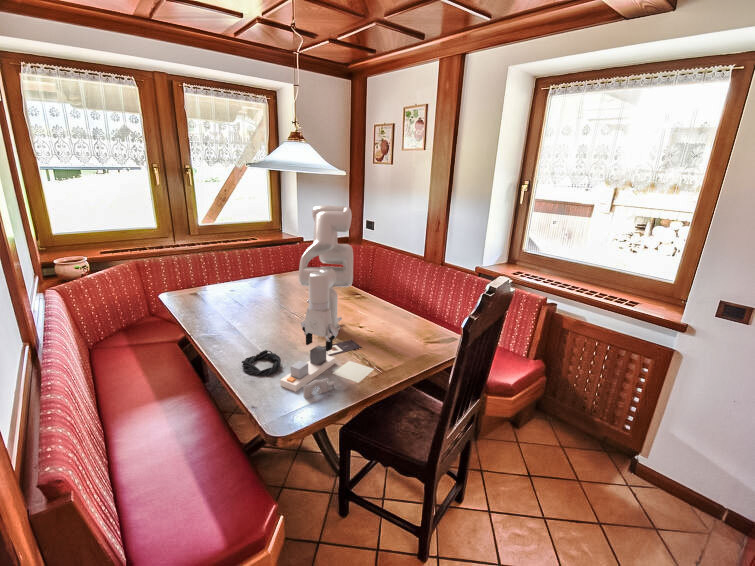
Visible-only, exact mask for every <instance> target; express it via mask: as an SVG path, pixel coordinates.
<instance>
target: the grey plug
mask: <svg viewBox="0 0 755 566" xmlns="http://www.w3.org/2000/svg"><path fill="white" fill-rule="evenodd" d="M290 373H291V376H292V377H293V378H296V379H299V380H300V379H302V378H303V377H305V376H306V375H308V363H307V362H306V361H302V360H298V361H296V362H295V363H293V364H292V365H291V366H290Z"/></svg>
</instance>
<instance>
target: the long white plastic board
mask: <svg viewBox="0 0 755 566" xmlns="http://www.w3.org/2000/svg"><path fill="white" fill-rule="evenodd" d="M306 363H308V375H306V376H305V377H303V378H302V379H300V380H299V379H296V378H293V377H292V376H291V372H290V373H288V374H287V375H284V377H282V378H280V380H279V381H280V382H279V383H280V387H282V388H285V389H287V390H290V391H293V392H298V391H299V390H300V389H302V388H303V387H302V386H304V385H308V384H310V383H311V382H312V381H313V380H315V379H316V378H317V377H318V376H319V375H321V374H323V373H324V372H325V371H326V370H328V369H329V368H331V367H332V366H334V365H335V364H336V357H334V356H333V355H332V356H328V355H326V362H325V363H323V364H322V365H319V366H317V365H315V364H312V363H310V360H308V361H306Z"/></svg>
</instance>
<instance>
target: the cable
mask: <svg viewBox="0 0 755 566" xmlns="http://www.w3.org/2000/svg"><path fill="white" fill-rule="evenodd" d="M262 359H268V360H269V361H270V362H271V363H273V365H272V367H268V368H265V369H262V370H261V369H260V368H258V367H257V366H256V365H255V364H254V362H255V361H257V360H262ZM281 362H282V359H281V357H280V356H279V355H278V354H277V353H275V352H274V353H273V352H272V351H271V350H268V349H265V350H262V351H260V352H259V353H256V354H254V355H252V356H250V357H248V356H247V357H246V358H244V360H241V364H242V368H243V370H244V372H245V373H246V374H247V375H248V374H250V375H252V376H257V377H260V376H261V377H267V376H269V375H271V374H275V373H276V372H277V371H278V369H279V368H280V367H281Z"/></svg>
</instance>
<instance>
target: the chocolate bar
mask: <svg viewBox="0 0 755 566" xmlns="http://www.w3.org/2000/svg"><path fill="white" fill-rule="evenodd" d="M323 347H325V348H326V345H324V346H323ZM359 348H362V349H363V346H361V345H360V344H358V343H357V342H355V340H353V339H349V340H345V341H341V342H336V343H333V347H332V349H331V350H329V351H326V355H328V356H332V357H333V356H336V355H340V354H343V353H347V352H350V351H357V350H356V349H358V350H360V349H359Z"/></svg>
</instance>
